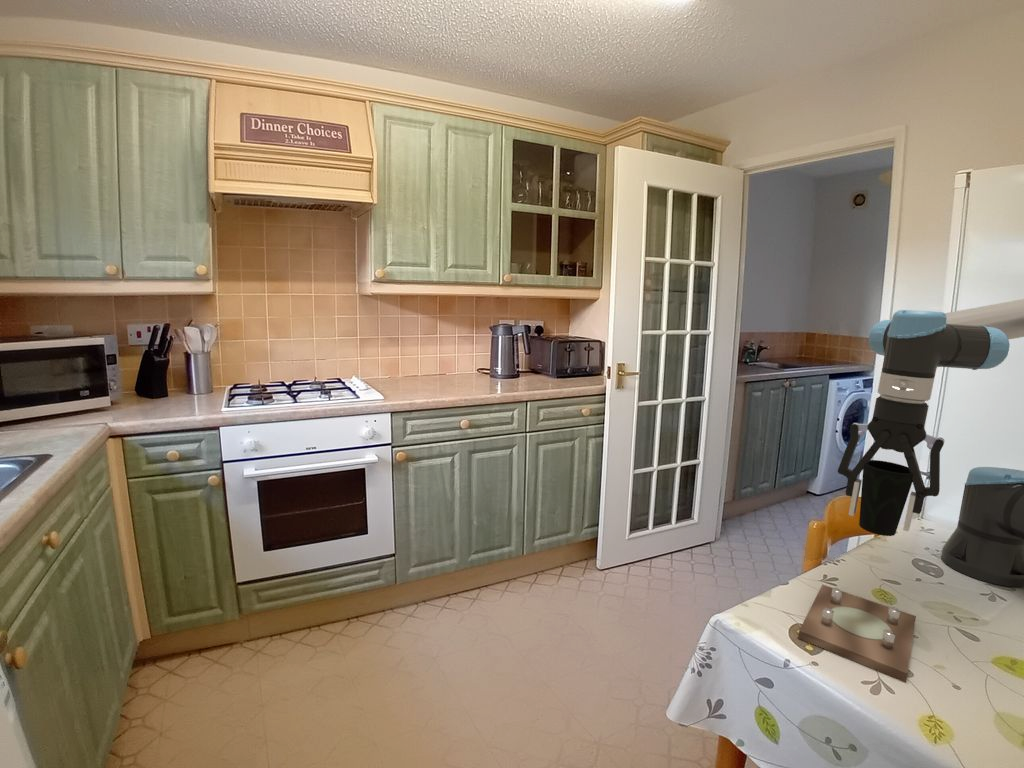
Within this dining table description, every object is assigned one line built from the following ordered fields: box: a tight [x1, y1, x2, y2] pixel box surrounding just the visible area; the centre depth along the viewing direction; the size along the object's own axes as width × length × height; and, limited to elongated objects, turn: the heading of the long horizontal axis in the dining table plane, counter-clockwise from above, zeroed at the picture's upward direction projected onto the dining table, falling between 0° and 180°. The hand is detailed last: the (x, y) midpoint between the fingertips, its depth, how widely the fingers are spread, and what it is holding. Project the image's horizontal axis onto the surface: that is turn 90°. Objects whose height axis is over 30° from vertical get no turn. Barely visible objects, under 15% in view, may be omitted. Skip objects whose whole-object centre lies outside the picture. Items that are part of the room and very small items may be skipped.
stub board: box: [797, 584, 917, 683], centre depth 93 cm, size 15×20×4 cm
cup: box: [858, 459, 913, 537], centre depth 96 cm, size 8×8×12 cm
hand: (878, 520), depth 97 cm, fingers closed on cup, 8 cm apart
